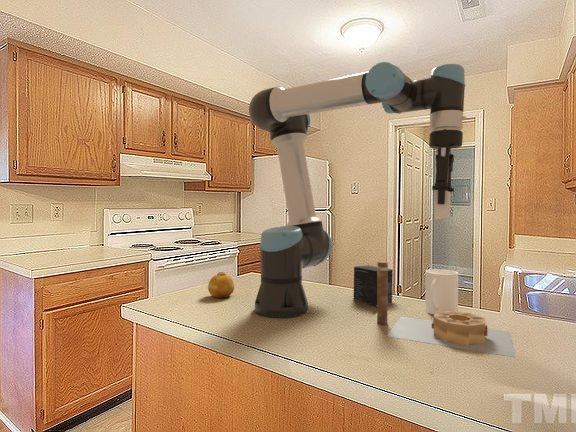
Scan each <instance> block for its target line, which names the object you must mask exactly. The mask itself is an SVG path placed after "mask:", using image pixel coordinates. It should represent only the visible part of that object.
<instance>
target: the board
mask: <svg viewBox="0 0 576 432" xmlns="http://www.w3.org/2000/svg"><path fill="white" fill-rule="evenodd" d="M432 322H433V320H432V319H431V320H430V319H421V318H415V317H407V316H400V318H399V319H398V320H397V321H396V322H395V324H394V326H393V327H392V328H391V329H390V331H389V332H388V333H387V335H386V337H387V338H395V339H401V340H406V341H413V342H418V343H425V344H431V345H437V346H442V347H449V348H454V349H455V348H456V349H460V350H462V349H463V350H466V351H474V352H479V353H486V354H493V355H497V356H498V355H499V356H505V357H510V358H516V355H515V351H514V350H515V349H514V345H513V339H512V334H511V331H509V330H503V329H495V328H488V327H487V336H485V343H481V344H474V345H464V344H458V343H451V342H446V341H444V340H442V339H440V338H438V337H436V336H434V329H433V328H432Z"/></svg>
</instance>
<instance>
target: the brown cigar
mask: <svg viewBox="0 0 576 432" xmlns="http://www.w3.org/2000/svg"><path fill="white" fill-rule="evenodd" d="M376 267H377V306H376V308H377V310H376V314H377V315H376V316H377V317H376V324H377V325H380V326H386V325H388V269H389V263H388V261H377V265H376Z"/></svg>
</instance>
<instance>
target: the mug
mask: <svg viewBox="0 0 576 432" xmlns="http://www.w3.org/2000/svg"><path fill="white" fill-rule="evenodd" d="M424 297H425V300H424V301H425V304H424V305H425V307H424V311H425V312H426V313H428V314H429V315H433V316H434V315H435V313H436V312H443V311H458V312H459V272H458V271H456V270H451V269H442V268H429V269H426V270H425V296H424Z"/></svg>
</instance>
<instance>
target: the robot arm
mask: <svg viewBox="0 0 576 432" xmlns="http://www.w3.org/2000/svg"><path fill="white" fill-rule="evenodd" d="M465 90H466V82H465V68H464V67H463V66H462V65H460V64H457V63H445V64H441V65H438V66H436V67H434V68H433V69H432V70H431V74H430V77H427V78H422V79H415V80H412V79H411V78H410V77H408V76H407V75H406V73H404V72H403V70H402V69H400V67H399V66H397V65H395V64H393V63H390V62H389V61H382V62H378V63H375V64H374V65H373V66H372V67H370V69H369V70H368V71H365V72H361V73H355V74H352V75H345V76H341V77H338V78H337V77H336V78H332V79H328V80H327V79H325V80H323V81H317V82H313V83H308V84H302V85H299V86H294V87H293V86H292V87H289V88H283V87H281V86H275V87H269V88H265V89H263V90H261V91H260V90H259V92H257V93H256V94H255V95H254V96H252V98H251V99H250V102H249V105H248V115H249V118H250V120H251V122H252V123H253V124H254V125H255V126H256V128H258V129H260V130H262V131H265V132H268V133H269V135H270V143H271V145H273V146H274V147H276V150H277V154H278V161H279V162H278V163H279V167H280V174H281V179H282V185H283V193H284V198H285V204H286V205H285V206H286V209H287V210H286V211H287V216H288V221H287V224H286V225H283V226H276V227H270V228H267V229H264V230H263V231H262V233H261V236H260V243H259V247H260V285H259V289H258V291H257V294H256V297H255V301H254V312H255V313H256V314H258V315H261V316H263V317H269V318H279V319H280V318H292V317H293V318H294V317H300V316H302V315H304V314H307V312H308V311H309V301H308V297H307V294H306V291H305V288H304V285H303V269H305V268H309V267H316V266H318V265H320V264H321V263H324V262H325V261H326V260H328V259H329V257H330V255H331V253H332V251H333V242H332V238H331V235H330V234H329V232H327V231H326V230H325V229H324V225H323V221H322V219H321V218H319V217H317V214H316V210H315V209H316V208H315V204H314V203H315V202H314V198H313V197H314V196H313V192H312V185H311V180H310V179H311V178H310V174H309V173H310V172H309V168H308V167H309V166H308V163H307V161H308V160H307V157H306V151H305V144H304V143H305V141H306V139H307V138H308V131H309V128H310V126H311V115H313V114H317V113H323V112H329V111H335V110H342V109H347V108H349V109H350V108H354V107H355V108H356V107H360V106H367V105H374V104H379V103H380V104H381V105H382V108H383V111H384V112H385V113H386V114H399V115H401V114H402V113H410V112H416V111H417V112H418V111H423V110H424V111H427V110H430V113H429V131H430V133H429V141H428V147H429V148H430V149H434V150H435V149H436V152H437V154H435V162H436V163H435V168H436V169H435V171H436V172H435V182H434V185H432V186H431V187H432V188H431V190H432V191H434V194H435V195H434V213H433V214H434V217H433V219H436V220H437V219H440V220H444V219H445V220H448V218H450V217H451V204H452V203H451V201H452V193H453V192H455V191H454V190H455V188H453V187H452V172H453V169H454V162H455V161H454V160H455V154H454V153H452V149H458V148H461V147H462V146H463V136H464V135H463V134H464V133H463V131H461V130H463V127H464V121H466V120H467V117H466V116H465V115H464V110H465V109H464V107H465V106H464V104H465ZM310 114H311V115H310Z"/></svg>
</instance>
